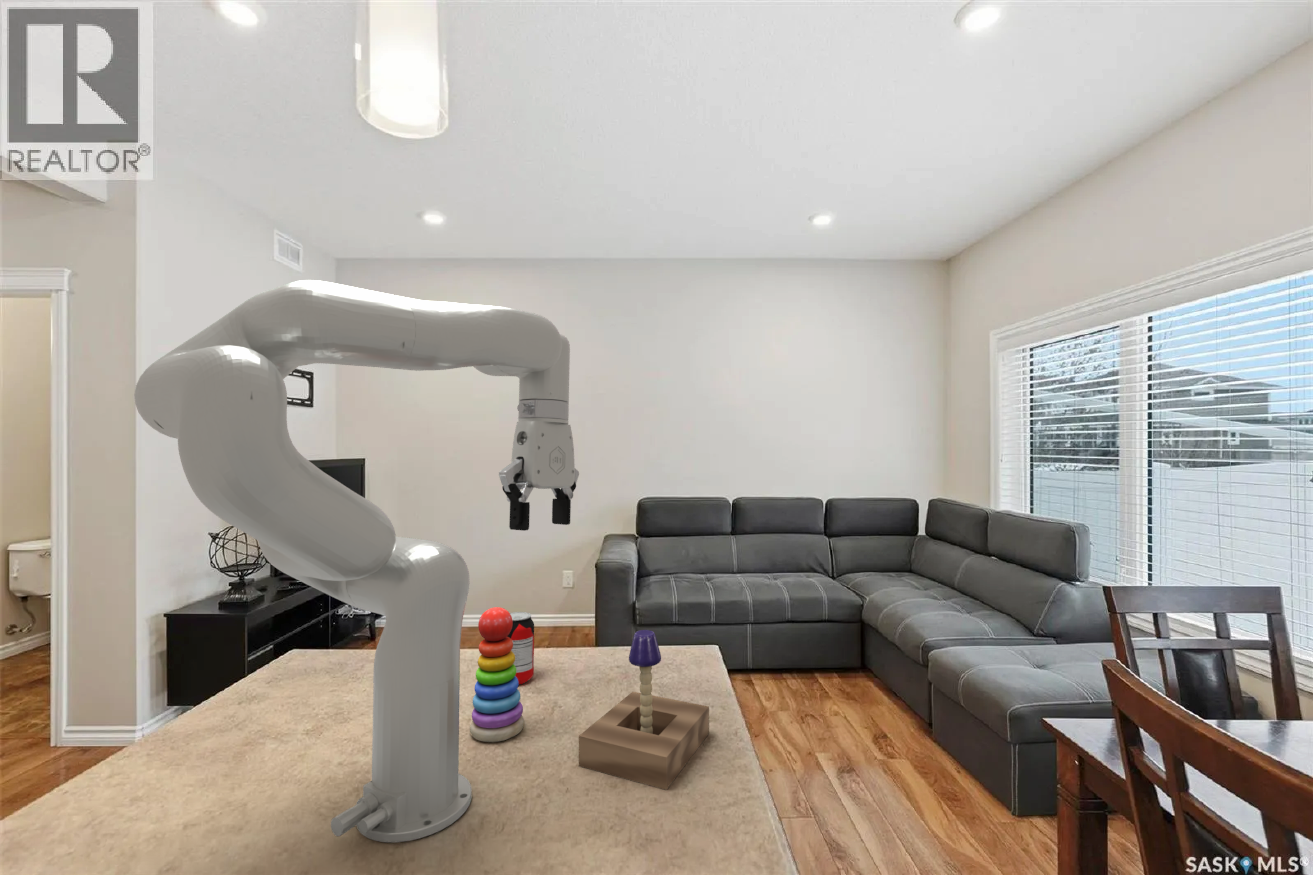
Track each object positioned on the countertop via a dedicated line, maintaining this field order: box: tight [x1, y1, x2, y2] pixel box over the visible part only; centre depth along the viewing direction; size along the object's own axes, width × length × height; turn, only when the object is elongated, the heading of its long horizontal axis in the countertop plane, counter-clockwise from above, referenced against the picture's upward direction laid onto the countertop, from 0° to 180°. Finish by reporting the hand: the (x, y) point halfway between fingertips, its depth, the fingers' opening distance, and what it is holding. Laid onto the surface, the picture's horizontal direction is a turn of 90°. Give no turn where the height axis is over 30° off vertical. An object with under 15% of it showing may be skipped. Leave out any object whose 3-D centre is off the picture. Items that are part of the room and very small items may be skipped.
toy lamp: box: [628, 629, 662, 734], centre depth 81 cm, size 5×5×17 cm
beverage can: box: [507, 611, 535, 685], centre depth 106 cm, size 6×6×12 cm
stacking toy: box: [469, 606, 525, 743], centre depth 86 cm, size 8×8×19 cm
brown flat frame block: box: [578, 691, 710, 791], centre depth 81 cm, size 16×13×4 cm
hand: (541, 526), depth 85 cm, fingers open, 9 cm apart
